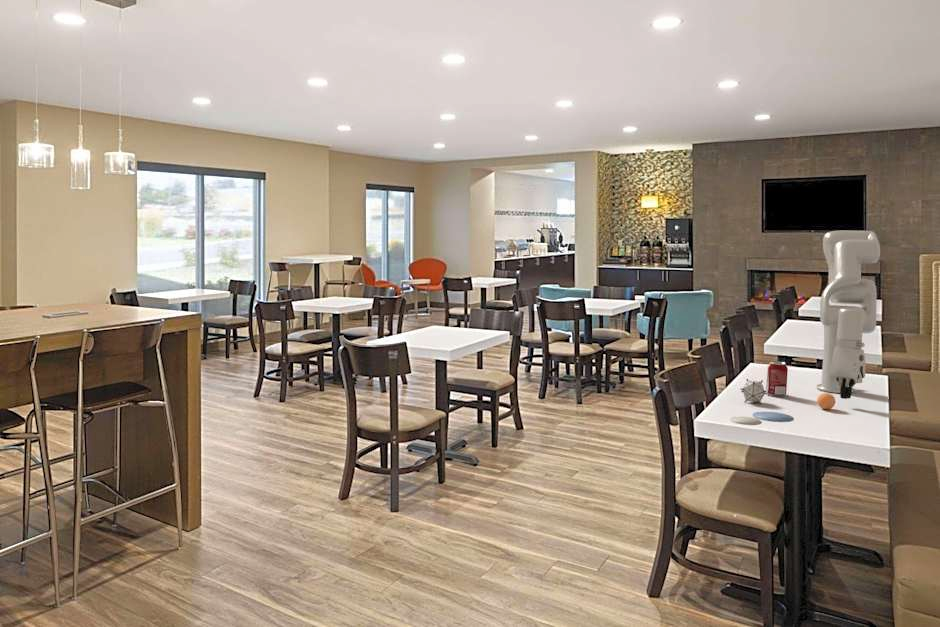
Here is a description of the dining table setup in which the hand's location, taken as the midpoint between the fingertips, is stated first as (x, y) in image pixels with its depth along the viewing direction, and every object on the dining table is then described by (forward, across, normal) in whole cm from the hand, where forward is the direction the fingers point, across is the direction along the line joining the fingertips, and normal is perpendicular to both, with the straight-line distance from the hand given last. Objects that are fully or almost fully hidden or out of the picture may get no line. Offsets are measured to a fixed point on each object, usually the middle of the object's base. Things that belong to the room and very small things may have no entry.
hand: (845, 397), depth 245 cm
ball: (0, 0, +9) cm, 9 cm away
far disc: (+4, +1, +46) cm, 46 cm away
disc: (+4, +1, +34) cm, 34 cm away
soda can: (+3, +23, +7) cm, 24 cm away
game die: (+4, +18, +24) cm, 30 cm away
